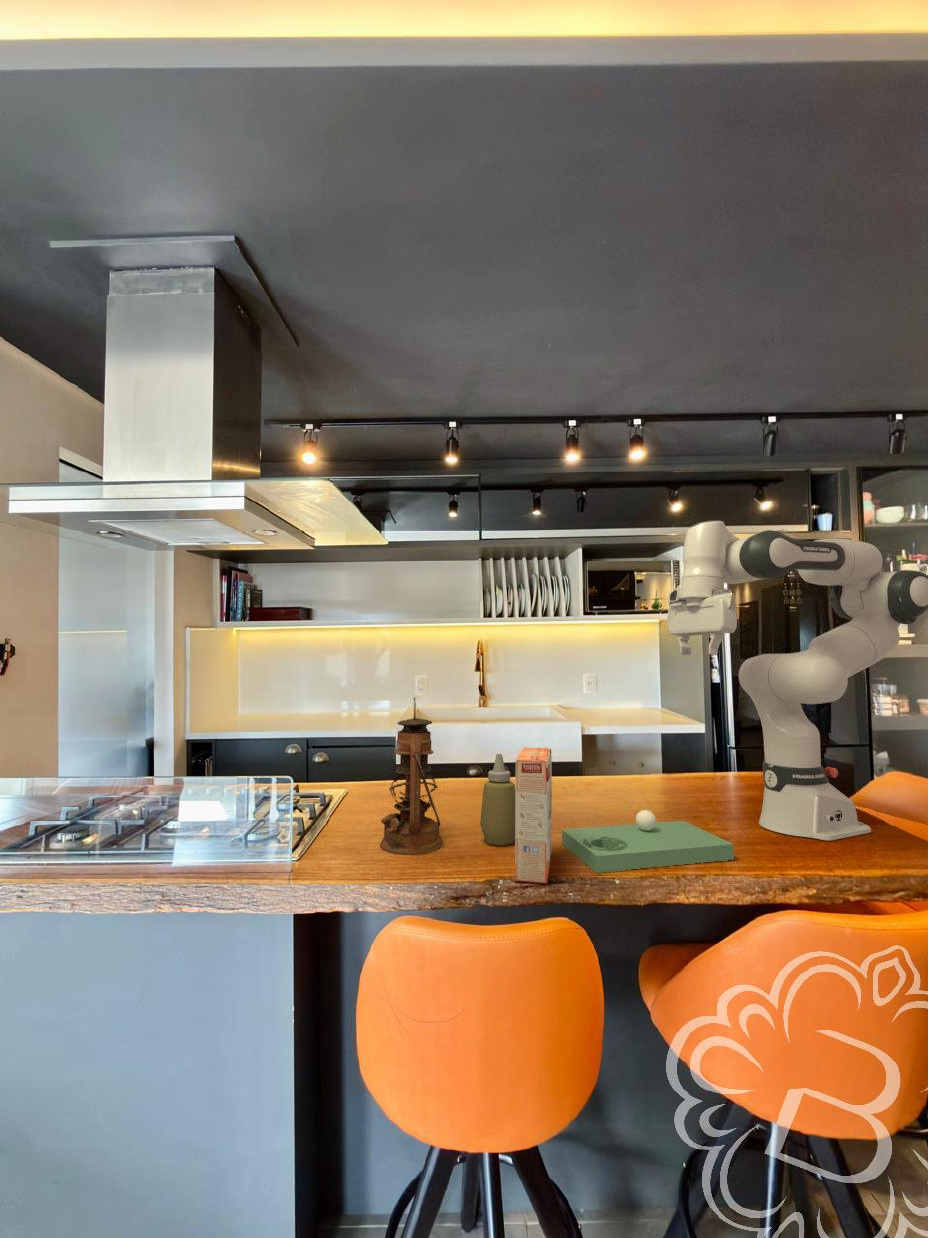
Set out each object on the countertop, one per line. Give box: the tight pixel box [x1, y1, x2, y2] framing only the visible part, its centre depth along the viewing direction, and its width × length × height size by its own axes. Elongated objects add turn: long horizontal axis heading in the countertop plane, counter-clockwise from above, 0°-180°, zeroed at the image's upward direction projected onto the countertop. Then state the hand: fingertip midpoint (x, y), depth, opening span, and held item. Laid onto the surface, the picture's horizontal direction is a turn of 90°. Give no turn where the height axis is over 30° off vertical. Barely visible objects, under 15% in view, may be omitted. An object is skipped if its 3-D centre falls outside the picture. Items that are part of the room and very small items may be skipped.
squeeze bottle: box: [479, 753, 516, 846], centre depth 119 cm, size 8×8×18 cm
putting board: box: [561, 820, 735, 874], centre depth 112 cm, size 28×16×3 cm, turn 103°
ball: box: [635, 809, 657, 831], centre depth 117 cm, size 4×4×4 cm
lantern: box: [379, 697, 444, 856], centre depth 119 cm, size 17×13×30 cm
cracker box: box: [514, 747, 553, 885], centre depth 104 cm, size 14×6×21 cm, turn 168°
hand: (698, 655), depth 125 cm, fingers open, 8 cm apart
